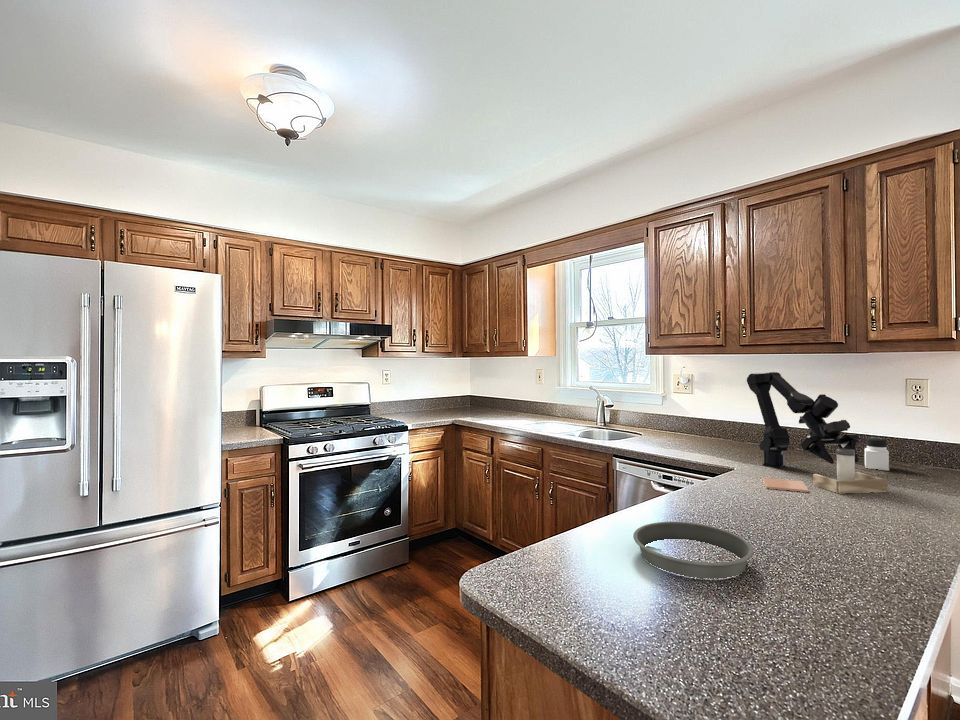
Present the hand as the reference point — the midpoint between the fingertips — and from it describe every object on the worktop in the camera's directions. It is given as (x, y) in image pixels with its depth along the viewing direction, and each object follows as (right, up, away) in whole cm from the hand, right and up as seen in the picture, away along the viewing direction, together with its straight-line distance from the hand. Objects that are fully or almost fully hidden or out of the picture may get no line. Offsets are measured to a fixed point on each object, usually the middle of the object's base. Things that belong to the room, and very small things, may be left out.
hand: (845, 462), depth 159 cm
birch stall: (0, -8, -1) cm, 9 cm away
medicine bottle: (+33, -8, +26) cm, 43 cm away
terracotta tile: (-19, -9, +3) cm, 21 cm away
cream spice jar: (0, -8, 0) cm, 8 cm away
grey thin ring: (-77, -10, -54) cm, 94 cm away
